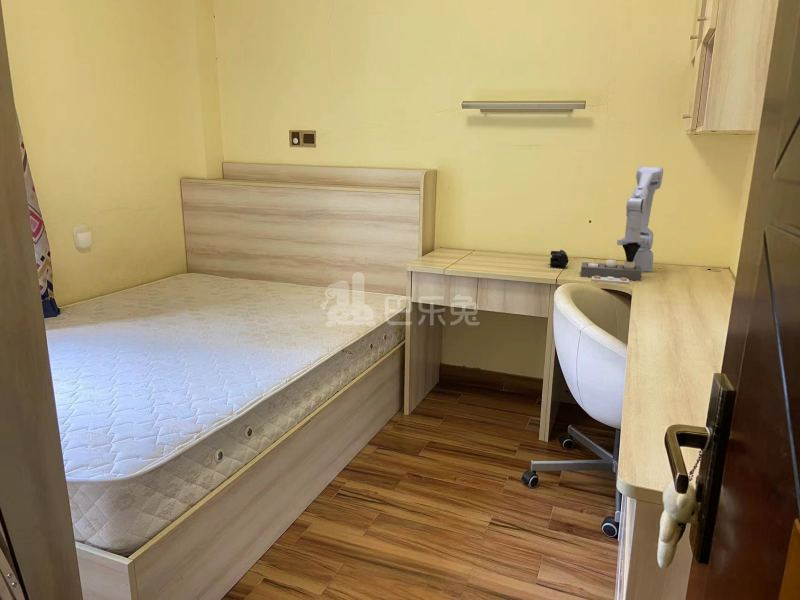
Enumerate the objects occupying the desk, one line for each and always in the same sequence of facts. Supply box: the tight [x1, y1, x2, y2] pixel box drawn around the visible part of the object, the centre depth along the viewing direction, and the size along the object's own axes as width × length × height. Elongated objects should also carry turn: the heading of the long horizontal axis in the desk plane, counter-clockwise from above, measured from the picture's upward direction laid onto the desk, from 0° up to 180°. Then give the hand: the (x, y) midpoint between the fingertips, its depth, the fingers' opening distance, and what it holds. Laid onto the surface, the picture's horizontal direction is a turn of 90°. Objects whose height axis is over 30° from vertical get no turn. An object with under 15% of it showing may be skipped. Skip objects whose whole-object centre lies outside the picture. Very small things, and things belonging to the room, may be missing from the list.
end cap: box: [549, 249, 569, 269], centre depth 268 cm, size 10×7×7 cm
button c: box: [588, 262, 598, 267], centre depth 252 cm, size 4×4×4 cm
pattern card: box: [591, 275, 630, 285], centre depth 241 cm, size 14×6×2 cm, turn 72°
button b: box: [605, 259, 617, 268], centre depth 249 cm, size 4×4×4 cm
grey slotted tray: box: [580, 261, 643, 282], centre depth 250 cm, size 23×11×4 cm, turn 72°
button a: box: [623, 260, 635, 269], centre depth 247 cm, size 4×4×4 cm
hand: (629, 261), depth 247 cm, fingers closed
